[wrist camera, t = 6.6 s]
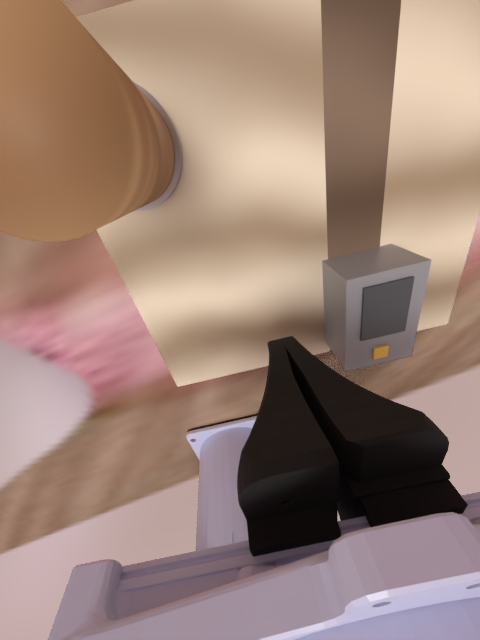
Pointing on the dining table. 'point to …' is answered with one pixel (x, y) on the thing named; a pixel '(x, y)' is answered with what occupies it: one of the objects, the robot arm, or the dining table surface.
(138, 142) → the brown cylinder
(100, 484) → the dining table surface
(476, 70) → the board
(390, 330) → the box
